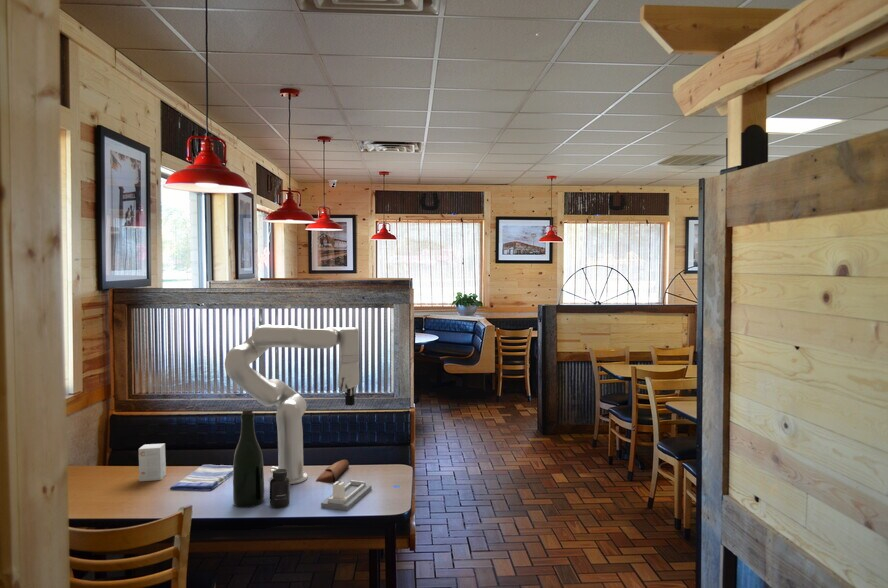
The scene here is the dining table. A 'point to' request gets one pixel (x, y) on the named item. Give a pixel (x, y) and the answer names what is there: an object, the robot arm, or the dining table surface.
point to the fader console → (348, 496)
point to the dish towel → (205, 478)
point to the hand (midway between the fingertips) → (349, 404)
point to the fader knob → (339, 490)
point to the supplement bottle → (279, 489)
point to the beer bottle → (248, 466)
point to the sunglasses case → (333, 471)
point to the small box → (152, 462)
